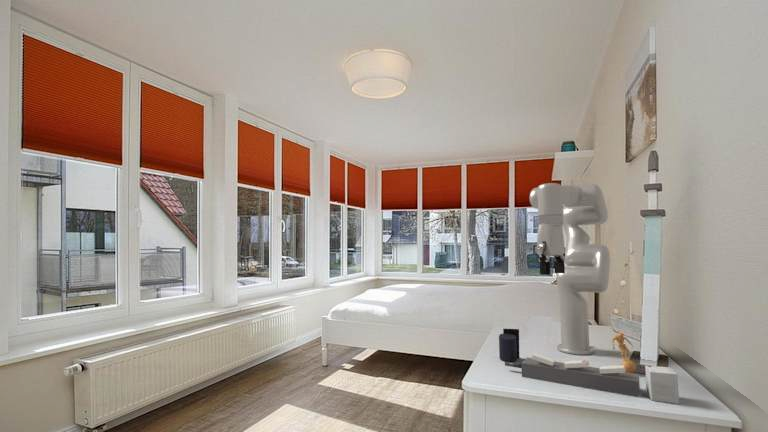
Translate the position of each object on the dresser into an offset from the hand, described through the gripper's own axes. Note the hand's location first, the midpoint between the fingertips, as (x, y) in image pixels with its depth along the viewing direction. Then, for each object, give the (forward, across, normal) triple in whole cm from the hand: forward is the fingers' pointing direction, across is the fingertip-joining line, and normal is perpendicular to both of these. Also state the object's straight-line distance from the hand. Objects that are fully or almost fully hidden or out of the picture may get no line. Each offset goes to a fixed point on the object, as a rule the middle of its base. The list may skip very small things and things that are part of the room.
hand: (552, 273), depth 129 cm
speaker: (+31, +1, -16) cm, 34 cm away
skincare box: (+31, +2, +29) cm, 42 cm away
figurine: (+31, -14, +16) cm, 37 cm away
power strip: (+30, +7, +7) cm, 32 cm away
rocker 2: (+25, +8, +10) cm, 28 cm away
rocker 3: (+25, +5, +19) cm, 32 cm away
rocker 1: (+25, +10, +1) cm, 27 cm away
